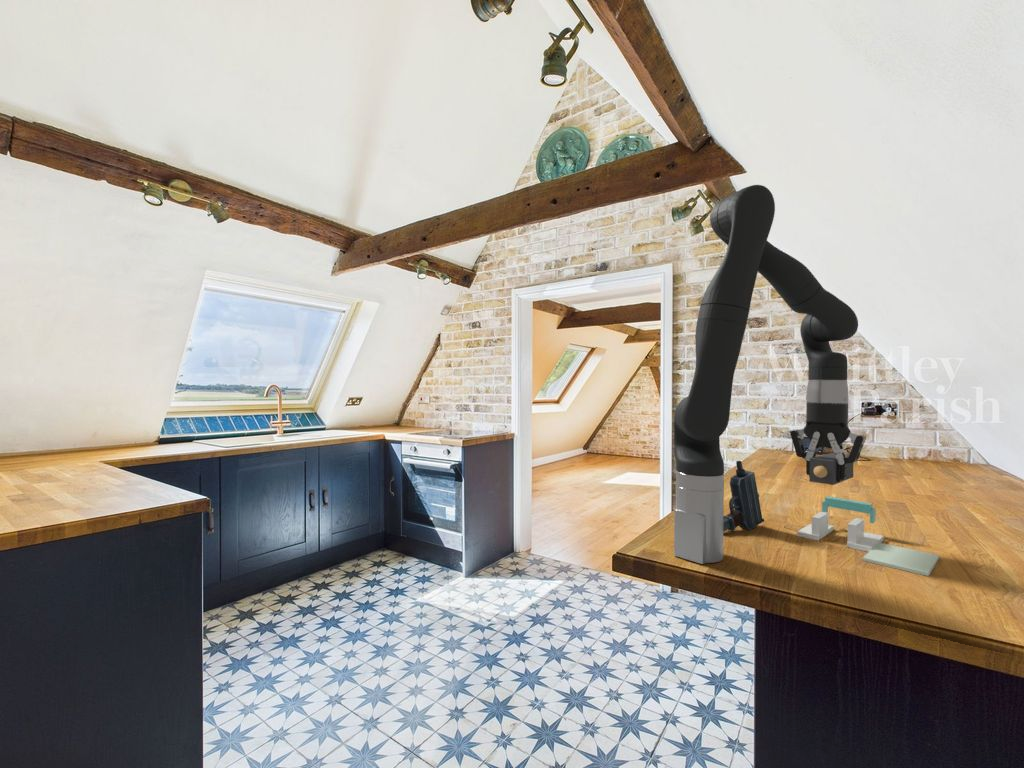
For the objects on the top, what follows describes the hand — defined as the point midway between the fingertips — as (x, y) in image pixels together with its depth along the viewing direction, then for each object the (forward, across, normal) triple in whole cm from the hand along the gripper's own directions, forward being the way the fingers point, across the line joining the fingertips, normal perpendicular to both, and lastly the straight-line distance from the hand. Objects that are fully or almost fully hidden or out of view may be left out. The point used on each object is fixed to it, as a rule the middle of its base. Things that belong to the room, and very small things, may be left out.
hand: (825, 479), depth 101 cm
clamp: (+15, 0, -11) cm, 19 cm away
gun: (+15, +18, +1) cm, 24 cm away
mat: (+15, -12, -5) cm, 20 cm away
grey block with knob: (+1, 0, -4) cm, 4 cm away
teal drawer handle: (+11, 0, -18) cm, 21 cm away
